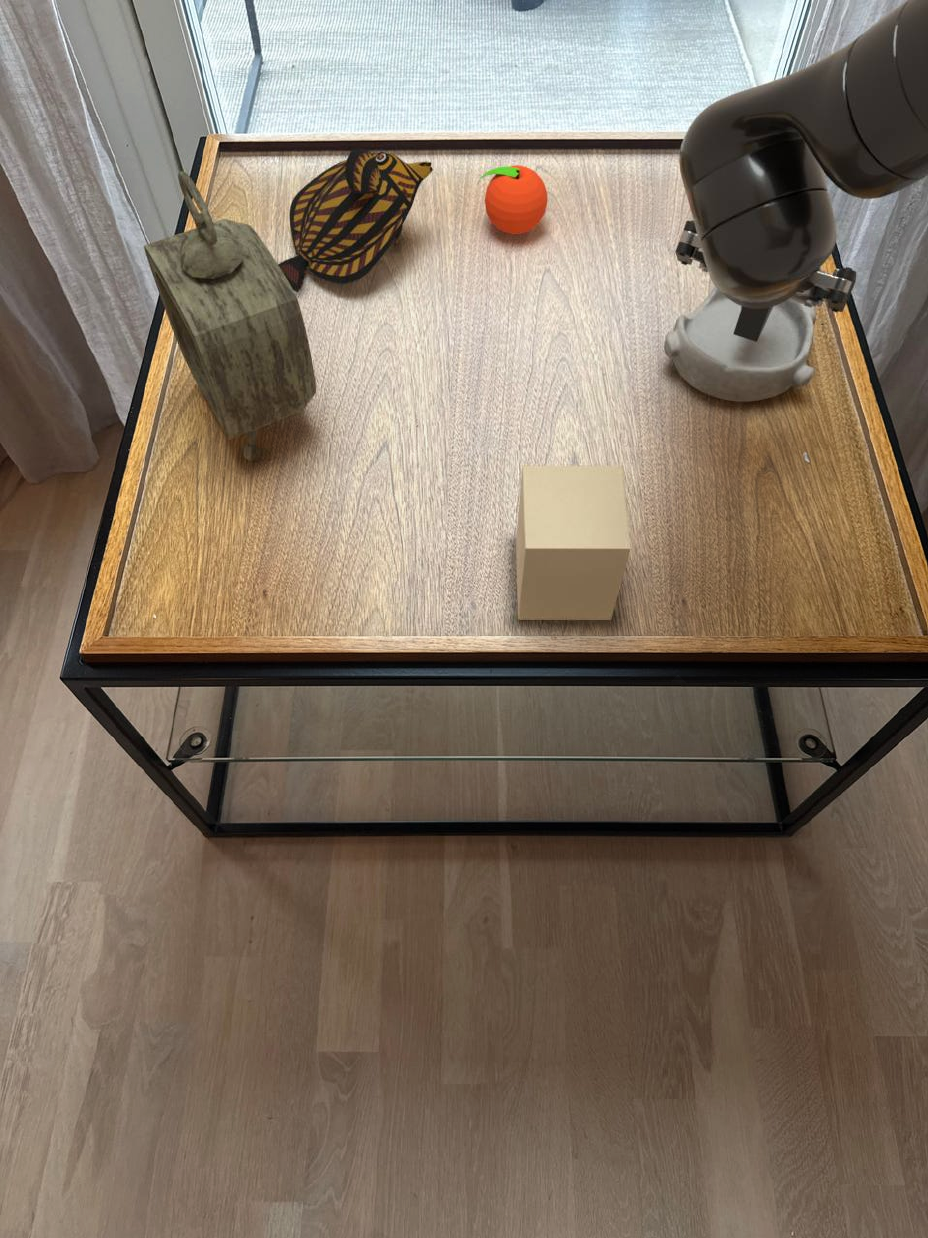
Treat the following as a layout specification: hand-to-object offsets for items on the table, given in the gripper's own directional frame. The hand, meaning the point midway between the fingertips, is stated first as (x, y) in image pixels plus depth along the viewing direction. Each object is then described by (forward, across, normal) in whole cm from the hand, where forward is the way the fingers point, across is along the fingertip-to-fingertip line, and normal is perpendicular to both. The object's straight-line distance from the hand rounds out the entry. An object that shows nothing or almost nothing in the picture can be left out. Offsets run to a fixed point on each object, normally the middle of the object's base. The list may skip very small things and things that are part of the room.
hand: (765, 279), depth 81 cm
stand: (-11, +6, +30) cm, 32 cm away
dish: (+12, 0, +7) cm, 14 cm away
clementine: (+18, +30, +1) cm, 35 cm away
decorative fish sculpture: (+10, +44, +9) cm, 46 cm away
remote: (+8, 0, +3) cm, 9 cm away
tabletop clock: (-8, +40, +26) cm, 49 cm away
